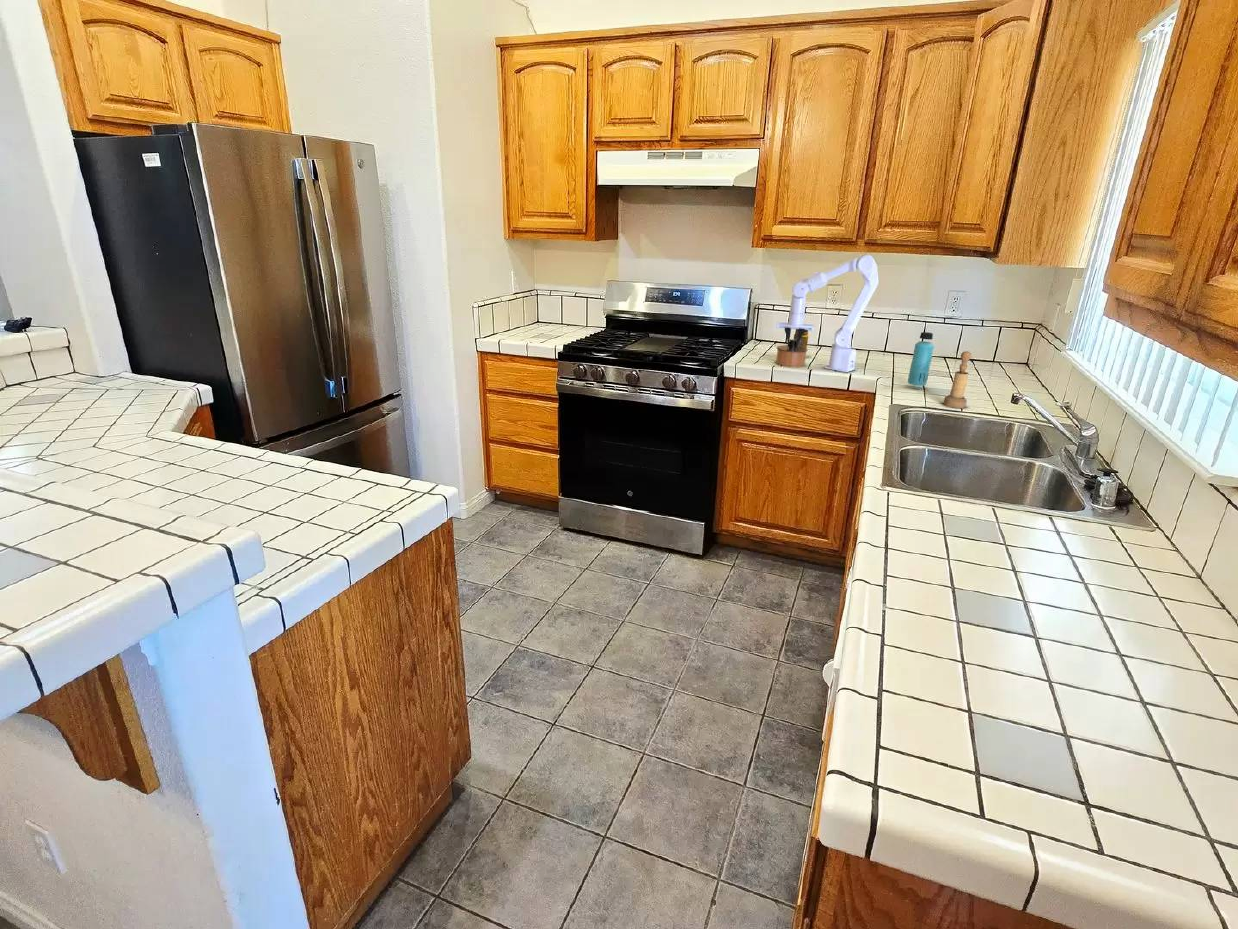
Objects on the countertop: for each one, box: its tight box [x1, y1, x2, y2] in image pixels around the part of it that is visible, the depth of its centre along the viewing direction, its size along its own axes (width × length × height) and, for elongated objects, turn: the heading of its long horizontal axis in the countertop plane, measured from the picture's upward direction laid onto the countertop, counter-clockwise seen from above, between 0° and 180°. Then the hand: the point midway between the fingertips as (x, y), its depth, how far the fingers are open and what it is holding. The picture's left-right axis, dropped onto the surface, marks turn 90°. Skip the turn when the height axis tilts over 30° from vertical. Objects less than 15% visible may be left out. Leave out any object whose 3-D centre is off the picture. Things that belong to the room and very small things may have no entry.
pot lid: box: [776, 338, 808, 353], centre depth 263 cm, size 12×12×4 cm
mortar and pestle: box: [943, 351, 972, 409], centre depth 212 cm, size 7×6×18 cm
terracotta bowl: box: [775, 349, 807, 368], centre depth 265 cm, size 11×11×6 cm
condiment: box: [793, 329, 810, 358], centre depth 278 cm, size 7×8×12 cm
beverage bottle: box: [907, 331, 935, 387], centre depth 232 cm, size 6×7×20 cm
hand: (792, 346), depth 263 cm, fingers closed on pot lid, 2 cm apart
